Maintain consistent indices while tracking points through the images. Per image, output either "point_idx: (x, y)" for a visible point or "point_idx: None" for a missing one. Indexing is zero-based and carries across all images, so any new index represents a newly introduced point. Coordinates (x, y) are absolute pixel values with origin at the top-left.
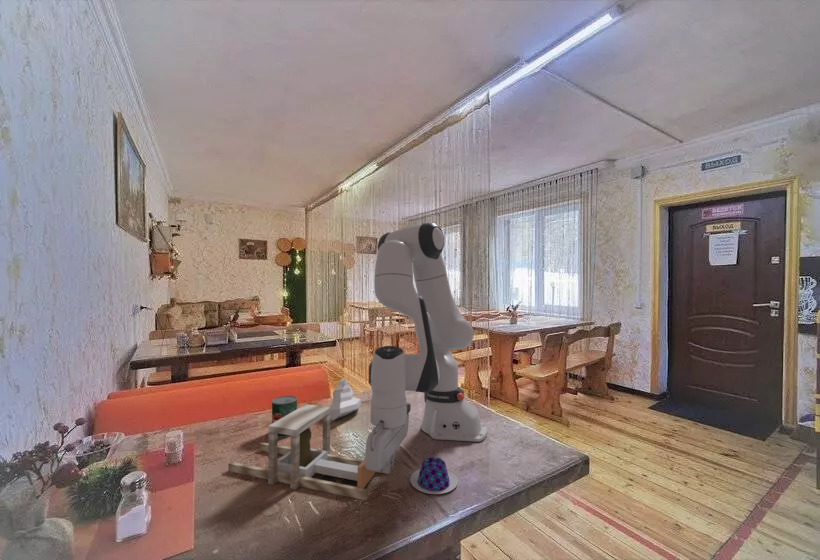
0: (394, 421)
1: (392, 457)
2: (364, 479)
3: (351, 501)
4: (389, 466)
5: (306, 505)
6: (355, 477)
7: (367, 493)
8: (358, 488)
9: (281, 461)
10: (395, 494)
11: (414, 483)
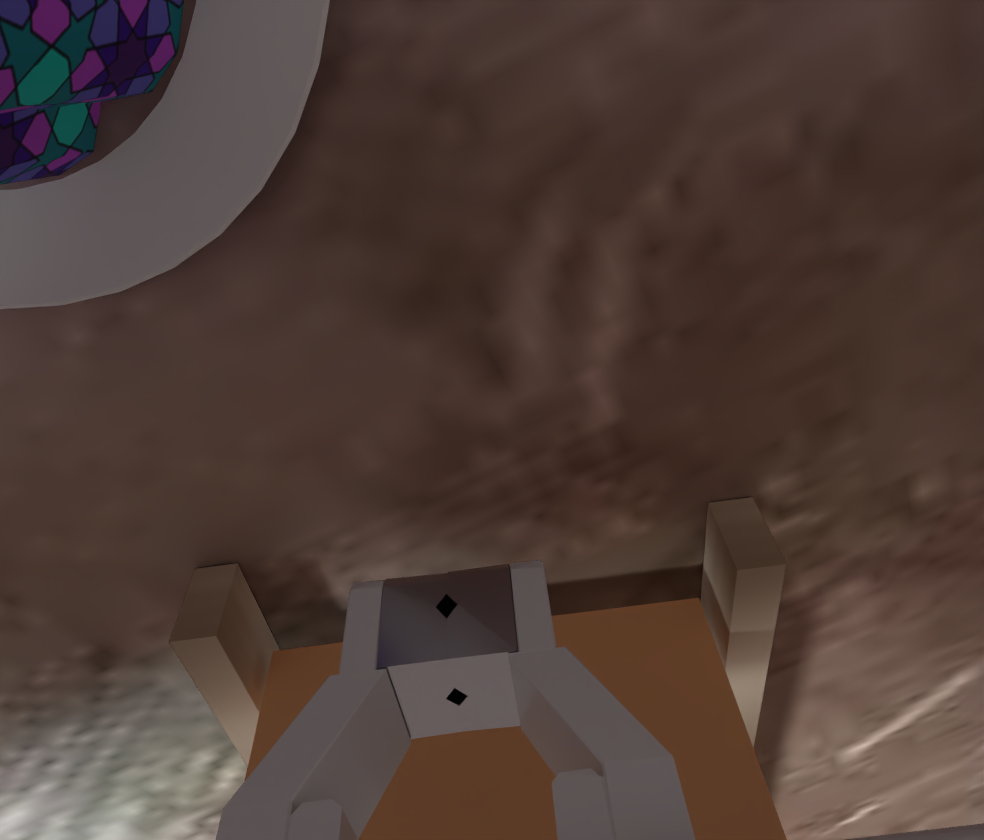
0: None
1: (345, 743)
2: (639, 675)
3: (792, 581)
4: (555, 648)
5: (894, 747)
6: None
7: (748, 543)
8: (744, 639)
9: None
10: (542, 302)
11: (186, 177)
